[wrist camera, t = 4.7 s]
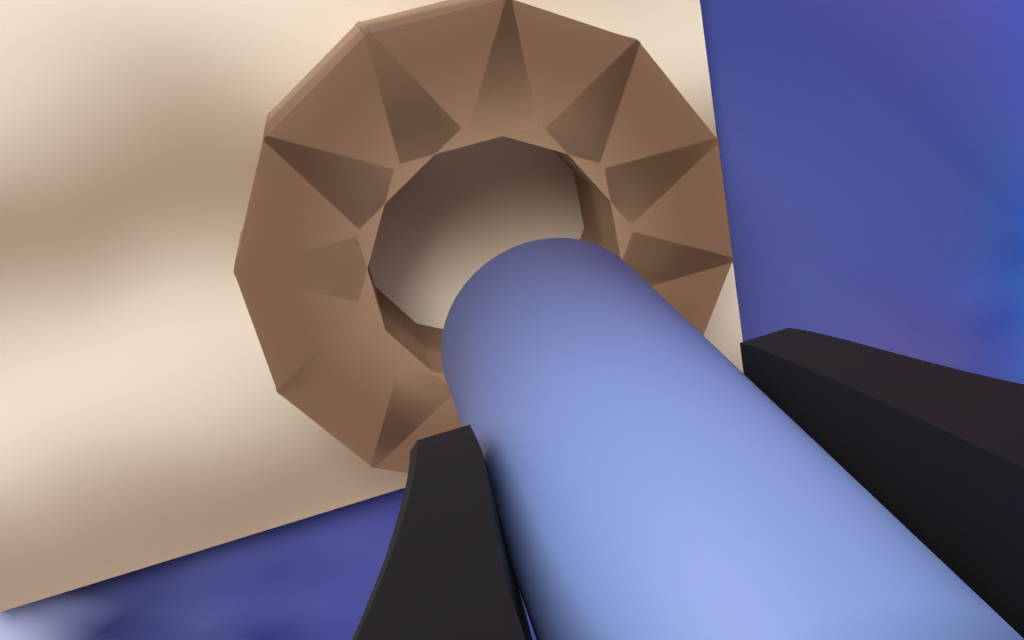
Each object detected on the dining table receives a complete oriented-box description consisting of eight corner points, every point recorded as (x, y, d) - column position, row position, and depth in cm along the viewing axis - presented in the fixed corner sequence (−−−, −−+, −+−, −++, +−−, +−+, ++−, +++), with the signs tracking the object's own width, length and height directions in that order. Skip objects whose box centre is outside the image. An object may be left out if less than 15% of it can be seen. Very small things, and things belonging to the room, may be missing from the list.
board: (737, 372, 23) (747, 382, 22) (-13, 601, 21) (-22, 618, 20) (650, -291, 17) (661, -299, 17) (-393, -64, 15) (-418, -65, 15)
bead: (704, 357, 22) (752, 405, 19) (325, 472, 21) (328, 536, 18) (644, -50, 18) (694, -50, 16) (181, 65, 17) (163, 82, 15)
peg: (669, 404, 14) (1056, 872, 7) (472, 468, 14) (662, 1028, 7) (634, 209, 13) (1064, 537, 6) (415, 275, 13) (575, 711, 5)
